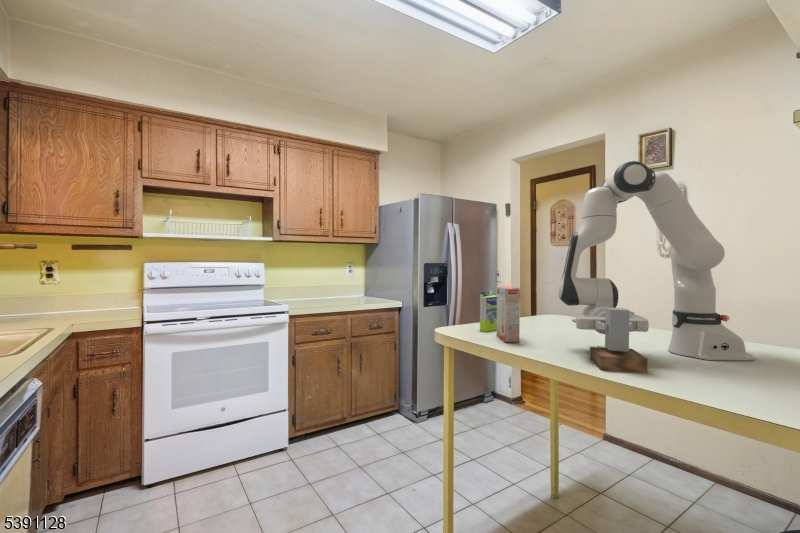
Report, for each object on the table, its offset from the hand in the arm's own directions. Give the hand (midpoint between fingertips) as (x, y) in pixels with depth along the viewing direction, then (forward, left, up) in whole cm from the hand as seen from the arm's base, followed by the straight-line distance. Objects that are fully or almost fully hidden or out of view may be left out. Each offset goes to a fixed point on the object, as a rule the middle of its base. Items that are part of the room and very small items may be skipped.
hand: (617, 327), depth 113 cm
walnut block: (0, -1, -12) cm, 12 cm away
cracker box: (+30, -33, -12) cm, 46 cm away
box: (+37, -51, -12) cm, 64 cm away
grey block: (0, -1, -6) cm, 7 cm away
